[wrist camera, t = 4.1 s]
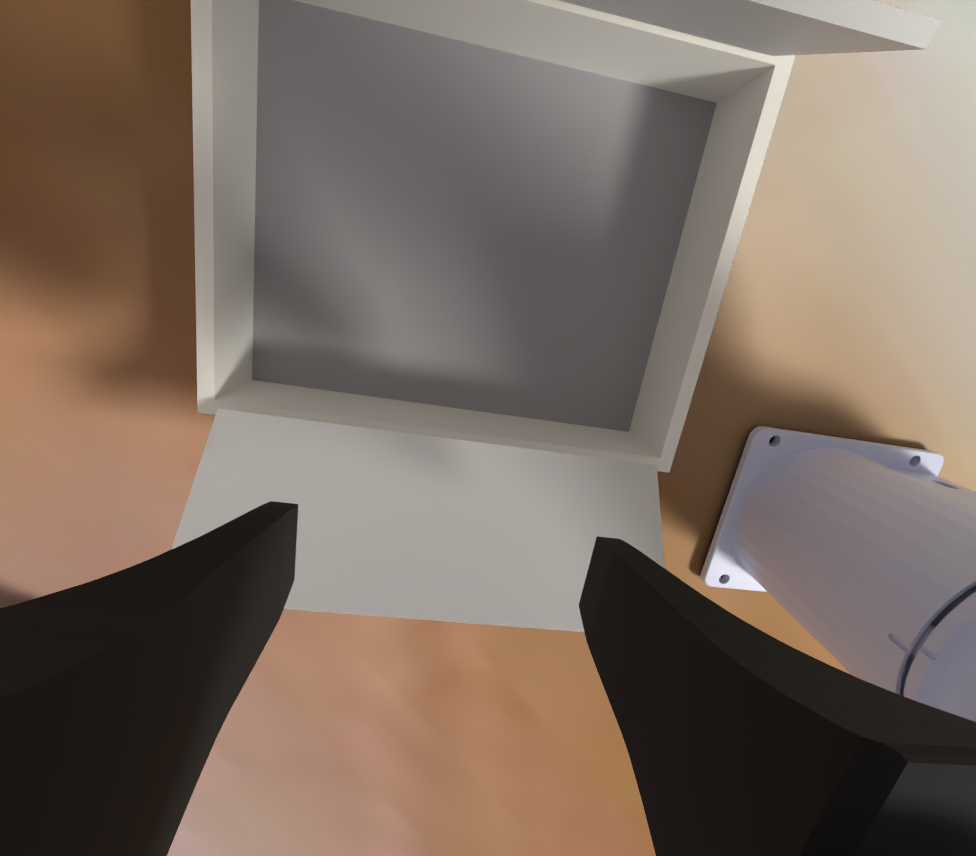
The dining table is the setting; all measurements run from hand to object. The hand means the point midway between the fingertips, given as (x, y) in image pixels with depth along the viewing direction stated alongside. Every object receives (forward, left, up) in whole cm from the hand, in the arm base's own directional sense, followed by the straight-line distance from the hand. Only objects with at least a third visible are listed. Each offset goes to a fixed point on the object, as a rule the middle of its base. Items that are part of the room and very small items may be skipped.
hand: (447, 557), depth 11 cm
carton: (0, -8, -9) cm, 11 cm away
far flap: (0, +1, -3) cm, 3 cm away
